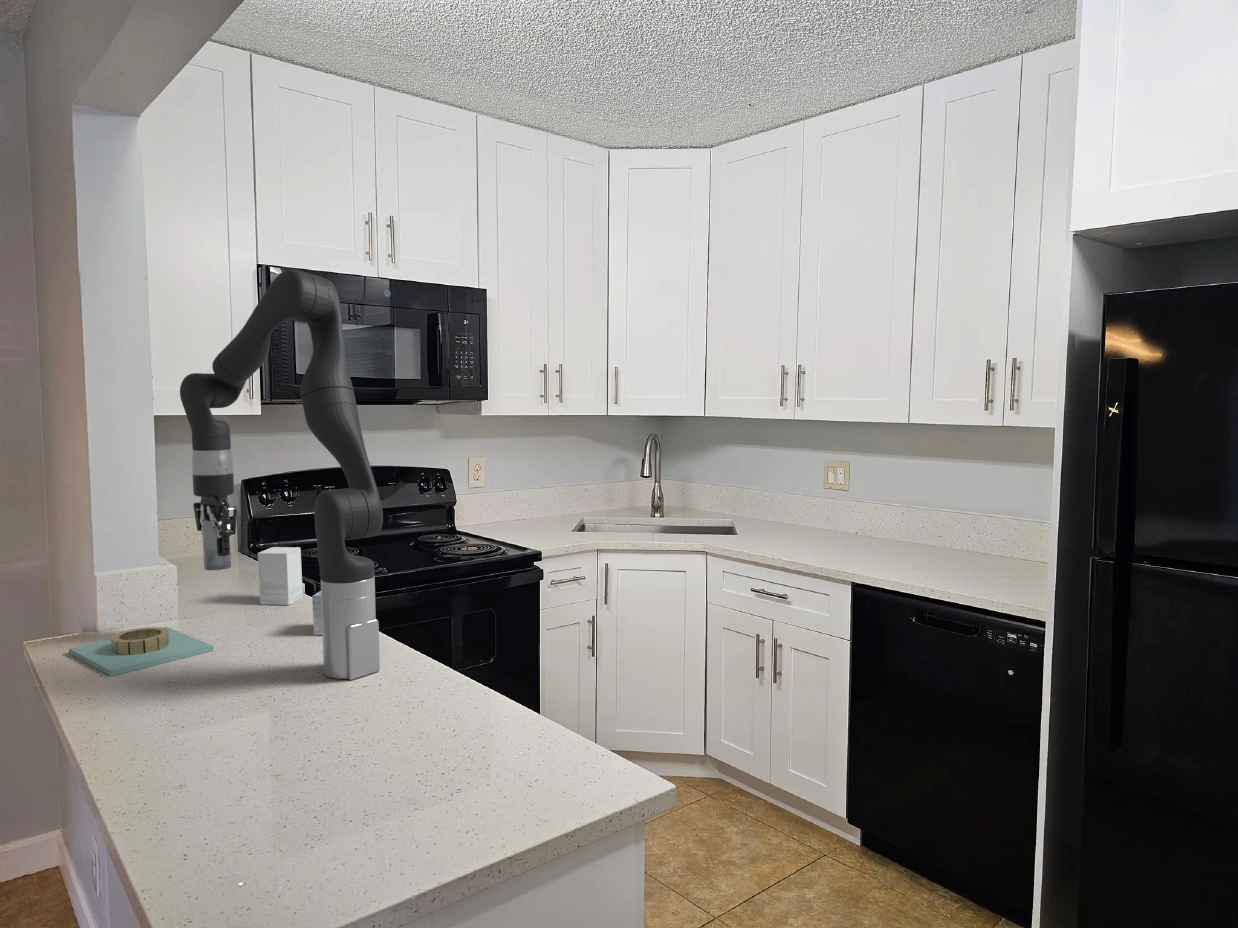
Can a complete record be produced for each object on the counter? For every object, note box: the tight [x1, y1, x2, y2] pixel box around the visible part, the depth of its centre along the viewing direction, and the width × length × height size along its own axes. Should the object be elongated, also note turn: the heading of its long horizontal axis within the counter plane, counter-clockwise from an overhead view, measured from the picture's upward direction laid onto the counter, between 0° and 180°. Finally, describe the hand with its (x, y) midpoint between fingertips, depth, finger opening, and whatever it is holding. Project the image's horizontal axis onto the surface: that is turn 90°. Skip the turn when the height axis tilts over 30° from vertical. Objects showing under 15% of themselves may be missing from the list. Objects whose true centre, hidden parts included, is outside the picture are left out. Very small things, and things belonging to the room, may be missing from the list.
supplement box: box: [257, 546, 304, 606], centre depth 195 cm, size 7×7×13 cm
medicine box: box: [311, 590, 322, 636], centre depth 173 cm, size 8×4×9 cm, turn 179°
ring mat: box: [68, 626, 214, 677], centre depth 158 cm, size 20×18×1 cm
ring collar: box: [111, 626, 169, 655], centre depth 158 cm, size 9×9×2 cm
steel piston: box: [201, 519, 232, 571], centre depth 168 cm, size 5×5×10 cm
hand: (217, 553), depth 168 cm, fingers closed on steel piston, 5 cm apart
